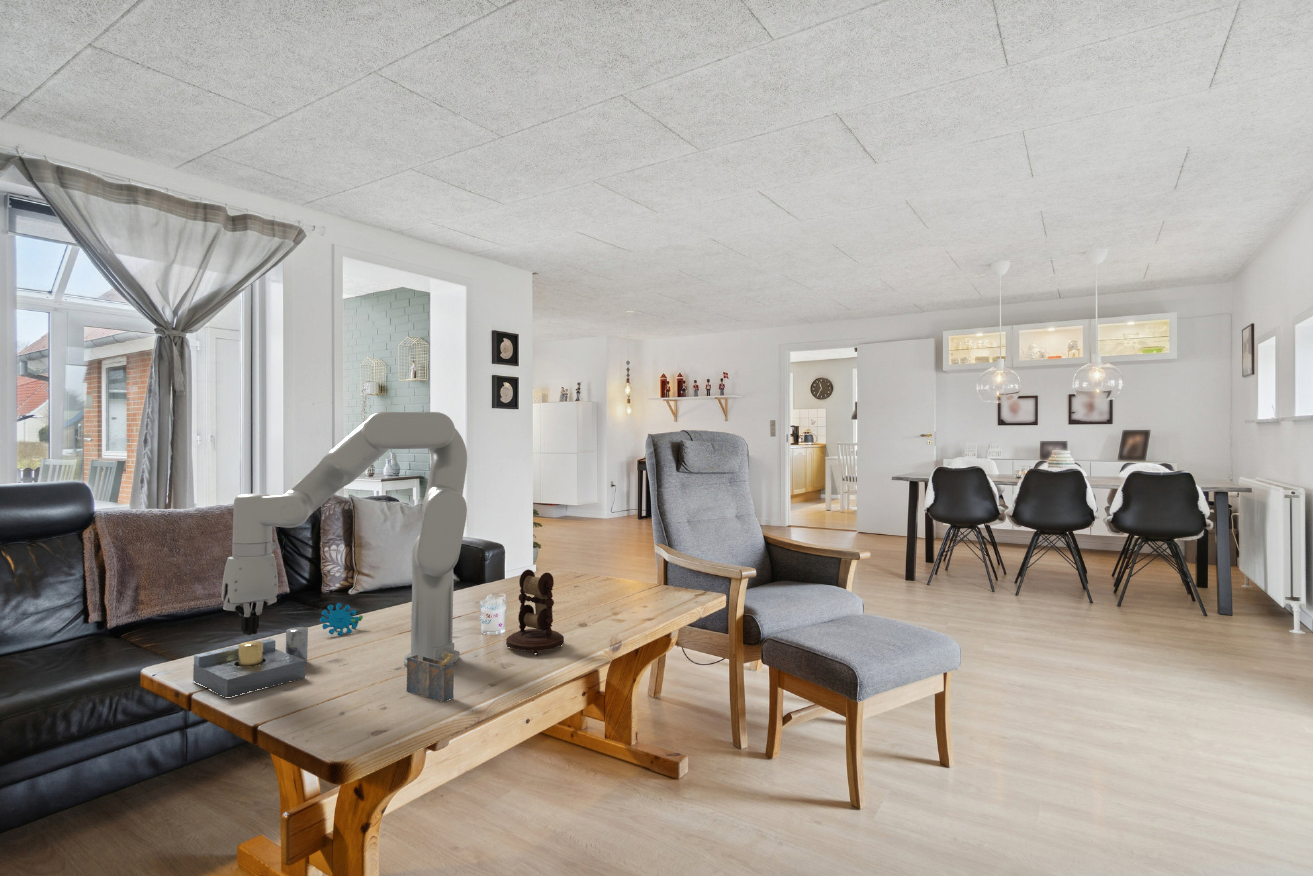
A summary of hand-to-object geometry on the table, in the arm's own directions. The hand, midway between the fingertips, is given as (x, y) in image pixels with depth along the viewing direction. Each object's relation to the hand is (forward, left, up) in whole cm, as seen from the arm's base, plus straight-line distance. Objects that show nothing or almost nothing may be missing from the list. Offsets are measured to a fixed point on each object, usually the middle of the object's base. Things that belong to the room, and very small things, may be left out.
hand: (249, 633), depth 151 cm
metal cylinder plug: (+3, -12, -10) cm, 16 cm away
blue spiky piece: (+20, -33, -11) cm, 40 cm away
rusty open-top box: (-38, -19, -11) cm, 44 cm away
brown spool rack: (-32, -56, -11) cm, 65 cm away
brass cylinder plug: (0, 0, -10) cm, 10 cm away
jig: (0, 0, -10) cm, 10 cm away
